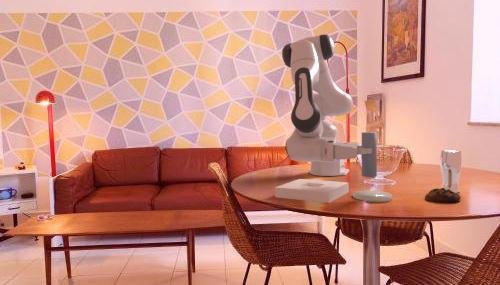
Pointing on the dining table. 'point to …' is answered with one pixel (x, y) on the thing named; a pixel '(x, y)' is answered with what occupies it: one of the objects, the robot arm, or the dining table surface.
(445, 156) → the white tall piece
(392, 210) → the dining table surface
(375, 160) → the slate peg
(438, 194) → the bread roll
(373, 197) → the sage trivet
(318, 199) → the pocket block
